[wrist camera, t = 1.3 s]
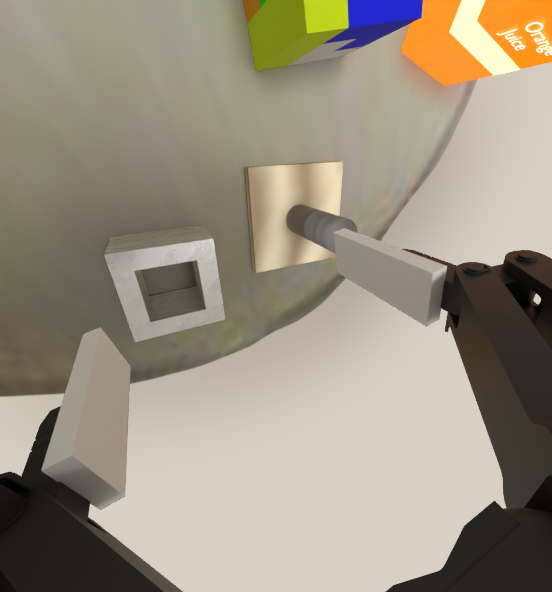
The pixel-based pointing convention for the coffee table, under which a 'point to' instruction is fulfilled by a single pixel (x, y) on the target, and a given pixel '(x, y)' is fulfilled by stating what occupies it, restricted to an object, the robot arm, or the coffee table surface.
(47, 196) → the coffee table surface
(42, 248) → the coffee table surface
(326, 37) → the puzzle toy
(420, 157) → the coffee table surface
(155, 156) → the coffee table surface
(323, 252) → the shaft block
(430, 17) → the orange juice
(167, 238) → the frame
